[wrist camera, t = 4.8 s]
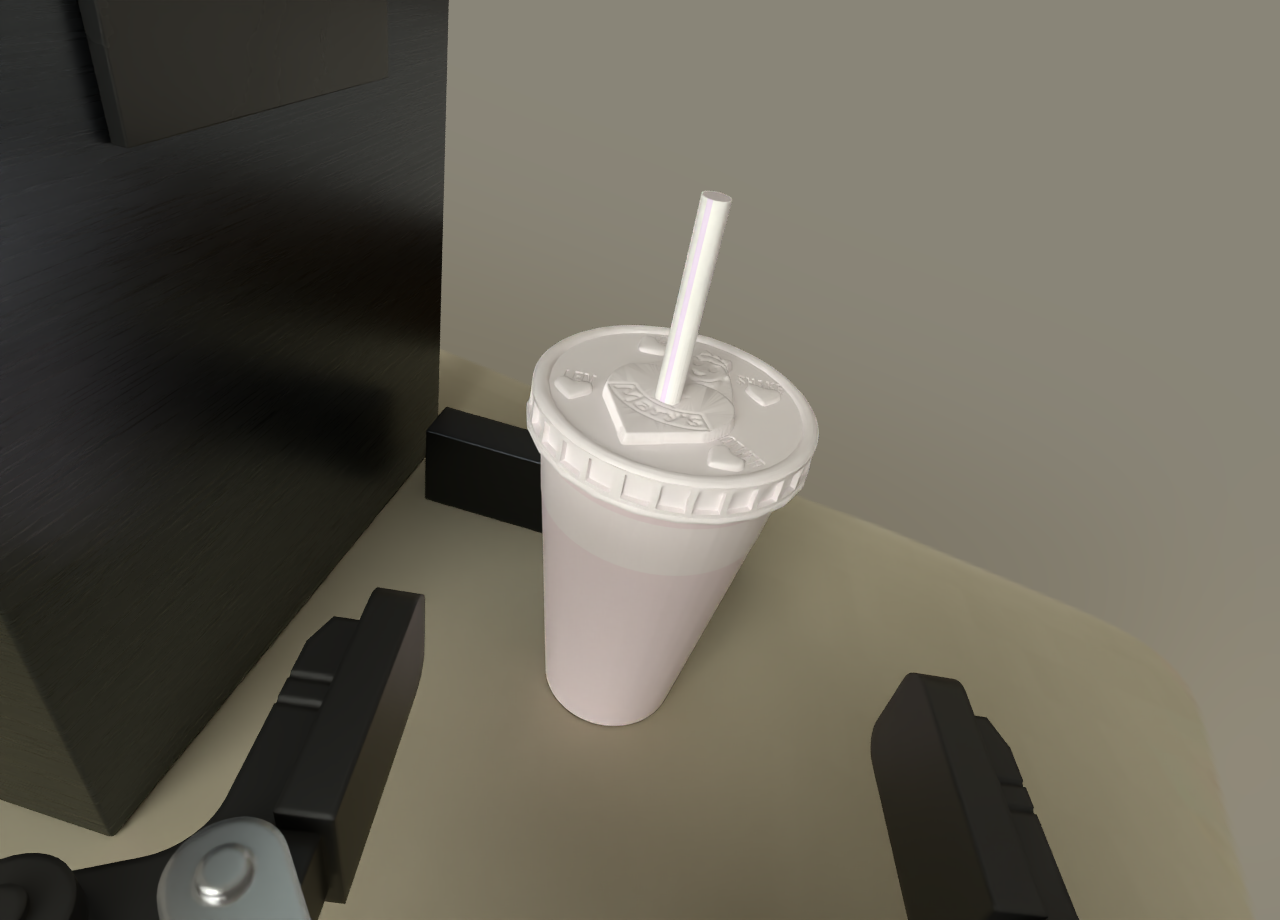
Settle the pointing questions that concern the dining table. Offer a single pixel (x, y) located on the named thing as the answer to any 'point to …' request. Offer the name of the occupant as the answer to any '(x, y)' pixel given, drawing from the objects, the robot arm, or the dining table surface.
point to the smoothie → (654, 489)
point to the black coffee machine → (208, 356)
